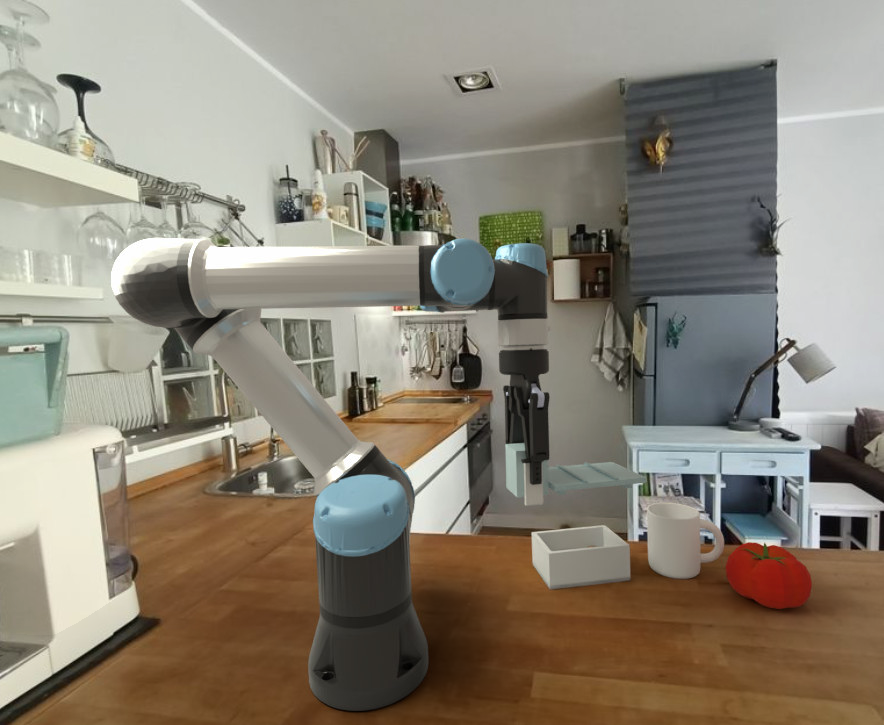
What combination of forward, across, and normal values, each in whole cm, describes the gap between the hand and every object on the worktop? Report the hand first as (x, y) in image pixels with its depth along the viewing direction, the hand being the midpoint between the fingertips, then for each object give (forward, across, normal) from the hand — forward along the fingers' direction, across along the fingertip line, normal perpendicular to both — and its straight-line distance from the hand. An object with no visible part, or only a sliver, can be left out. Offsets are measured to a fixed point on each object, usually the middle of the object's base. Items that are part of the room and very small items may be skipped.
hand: (527, 497), depth 76 cm
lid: (-1, 0, -7) cm, 7 cm away
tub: (+16, +7, -12) cm, 21 cm away
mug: (+16, +2, -30) cm, 34 cm away
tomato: (+16, -9, -35) cm, 40 cm away
